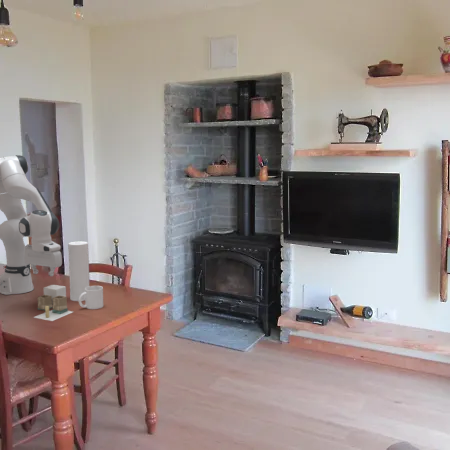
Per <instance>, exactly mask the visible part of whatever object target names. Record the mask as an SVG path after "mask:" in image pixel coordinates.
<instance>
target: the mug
mask: <svg viewBox="0 0 450 450" xmlns="http://www.w3.org/2000/svg"><path fill="white" fill-rule="evenodd" d="M83 296H85V302H84V304H83V301H81V300H82V297H83ZM78 305H79V306H80V307H81V308H84V309H85V308H86V309H87V310H88V309H89V310H97V309H102V308H103V307H104V288H103V286H101V285H89V287H86V288H85V292H84V293H82V294H81V295H80V297H79V301H78Z"/></svg>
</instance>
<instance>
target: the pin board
mask: <svg viewBox="0 0 450 450" xmlns="http://www.w3.org/2000/svg"><path fill="white" fill-rule="evenodd" d="M52 310H53V309H51V310H50V309H49V306H45V311H44V312H43V313H40V314H38V315H36V316H33V318H34V319H39V320H45V321H50V322H54V321H55V320H58V319H61V318H63V317H65V316H68V315H70V314H72V313H74V311H73V310H72V311H71V310H68V311H67V312H64V313H62V314H57V313H52Z"/></svg>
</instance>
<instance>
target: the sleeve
mask: <svg viewBox="0 0 450 450" xmlns="http://www.w3.org/2000/svg"><path fill="white" fill-rule="evenodd" d="M45 306H49V310H50V309H51V310H52V309H53V305H52V296H49V295H44V294H42V295H40V296H37V310H41V311H44V312H45Z"/></svg>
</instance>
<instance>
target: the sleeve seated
mask: <svg viewBox="0 0 450 450" xmlns="http://www.w3.org/2000/svg"><path fill="white" fill-rule="evenodd" d="M52 301H53V305H52V307H53V308H52V309H51V310H52V313H57V314H62V313H64V312H67V311H69V308H68V302H67V301H68V300H67V296H66V297H65V296H56V297H54V298H52Z"/></svg>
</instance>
